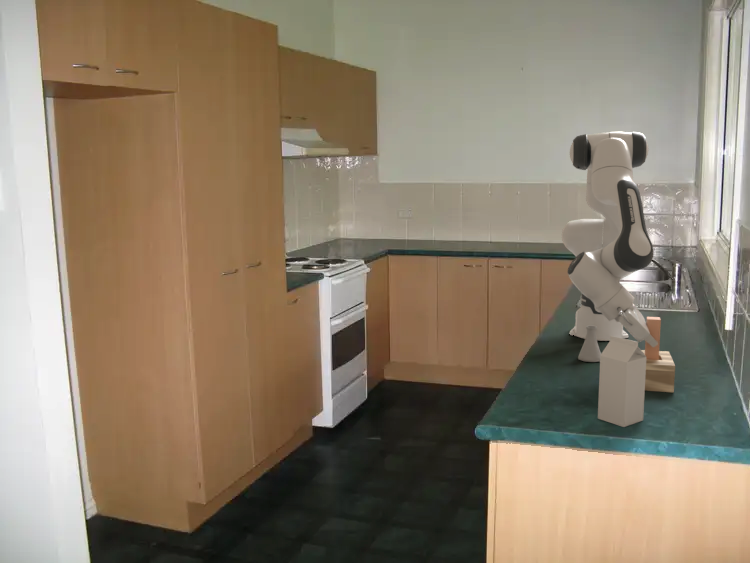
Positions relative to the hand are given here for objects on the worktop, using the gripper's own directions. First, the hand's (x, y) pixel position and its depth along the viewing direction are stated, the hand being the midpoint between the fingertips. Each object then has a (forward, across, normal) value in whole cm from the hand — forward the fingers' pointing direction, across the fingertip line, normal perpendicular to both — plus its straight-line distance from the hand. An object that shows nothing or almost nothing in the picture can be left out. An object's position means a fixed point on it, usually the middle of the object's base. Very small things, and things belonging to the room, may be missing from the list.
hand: (654, 343), depth 192 cm
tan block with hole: (+7, 0, +8) cm, 11 cm away
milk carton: (+1, -31, +15) cm, 34 cm away
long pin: (+6, 0, +6) cm, 8 cm away
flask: (-3, +20, +19) cm, 28 cm away
